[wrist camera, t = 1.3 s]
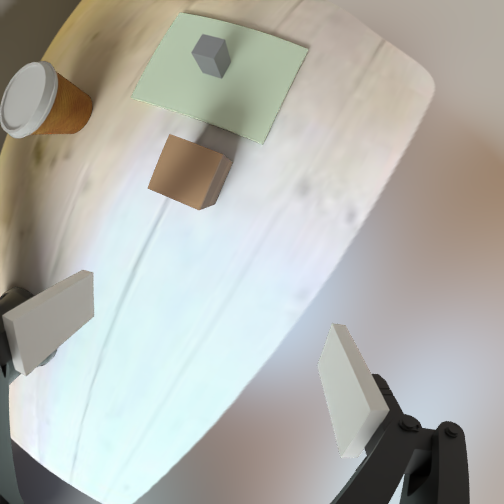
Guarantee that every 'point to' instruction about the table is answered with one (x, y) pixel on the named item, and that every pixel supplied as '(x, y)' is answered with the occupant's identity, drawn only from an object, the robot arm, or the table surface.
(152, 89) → the post board
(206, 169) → the box
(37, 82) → the disposable coffee cup
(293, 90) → the table surface
